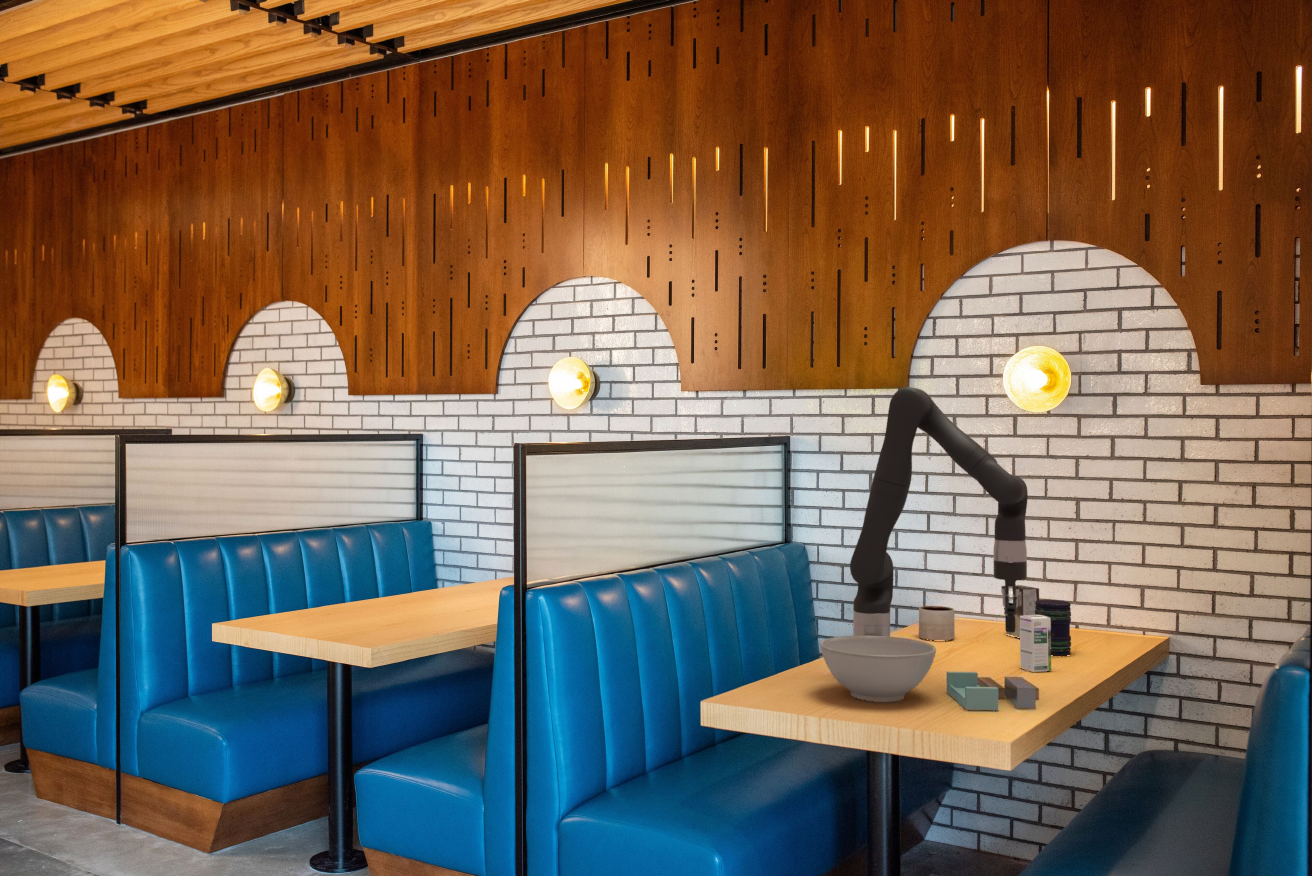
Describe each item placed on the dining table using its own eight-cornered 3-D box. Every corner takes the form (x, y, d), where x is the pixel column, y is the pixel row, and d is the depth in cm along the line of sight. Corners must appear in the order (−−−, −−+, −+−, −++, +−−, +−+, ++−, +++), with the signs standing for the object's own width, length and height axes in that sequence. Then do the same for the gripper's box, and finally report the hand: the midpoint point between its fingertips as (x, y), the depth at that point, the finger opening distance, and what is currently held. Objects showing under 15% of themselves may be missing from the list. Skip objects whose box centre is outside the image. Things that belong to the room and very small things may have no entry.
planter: (917, 640, 319) (917, 609, 319) (919, 635, 329) (919, 605, 329) (954, 642, 316) (954, 611, 316) (954, 637, 326) (954, 606, 326)
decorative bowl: (957, 697, 243) (957, 645, 244) (894, 716, 225) (895, 660, 225) (862, 679, 263) (862, 631, 263) (797, 695, 244) (797, 644, 244)
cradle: (966, 710, 230) (966, 688, 230) (946, 692, 248) (946, 671, 248) (998, 711, 230) (998, 688, 230) (975, 692, 248) (975, 671, 248)
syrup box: (1033, 673, 271) (1032, 617, 272) (1019, 668, 277) (1019, 614, 277) (1051, 671, 273) (1051, 617, 273) (1037, 667, 279) (1037, 613, 279)
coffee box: (1040, 639, 322) (1040, 588, 323) (1023, 640, 320) (1023, 588, 321) (1021, 634, 331) (1021, 584, 331) (1005, 635, 329) (1005, 585, 329)
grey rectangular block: (1017, 710, 232) (1017, 687, 232) (1004, 697, 244) (1004, 676, 244) (1035, 710, 232) (1035, 688, 232) (1021, 698, 243) (1021, 677, 244)
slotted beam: (991, 698, 242) (991, 688, 242) (977, 687, 254) (977, 677, 254) (1038, 699, 241) (1038, 688, 241) (1022, 687, 253) (1022, 677, 253)
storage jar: (1036, 656, 295) (1036, 603, 295) (1032, 650, 305) (1032, 599, 305) (1073, 657, 293) (1073, 605, 293) (1068, 651, 302) (1068, 600, 303)
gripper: (993, 556, 254) (993, 626, 253) (993, 561, 241) (994, 635, 241) (1025, 557, 251) (1025, 628, 251) (1028, 562, 239) (1028, 637, 238)
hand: (1010, 631), depth 246 cm, fingers closed
